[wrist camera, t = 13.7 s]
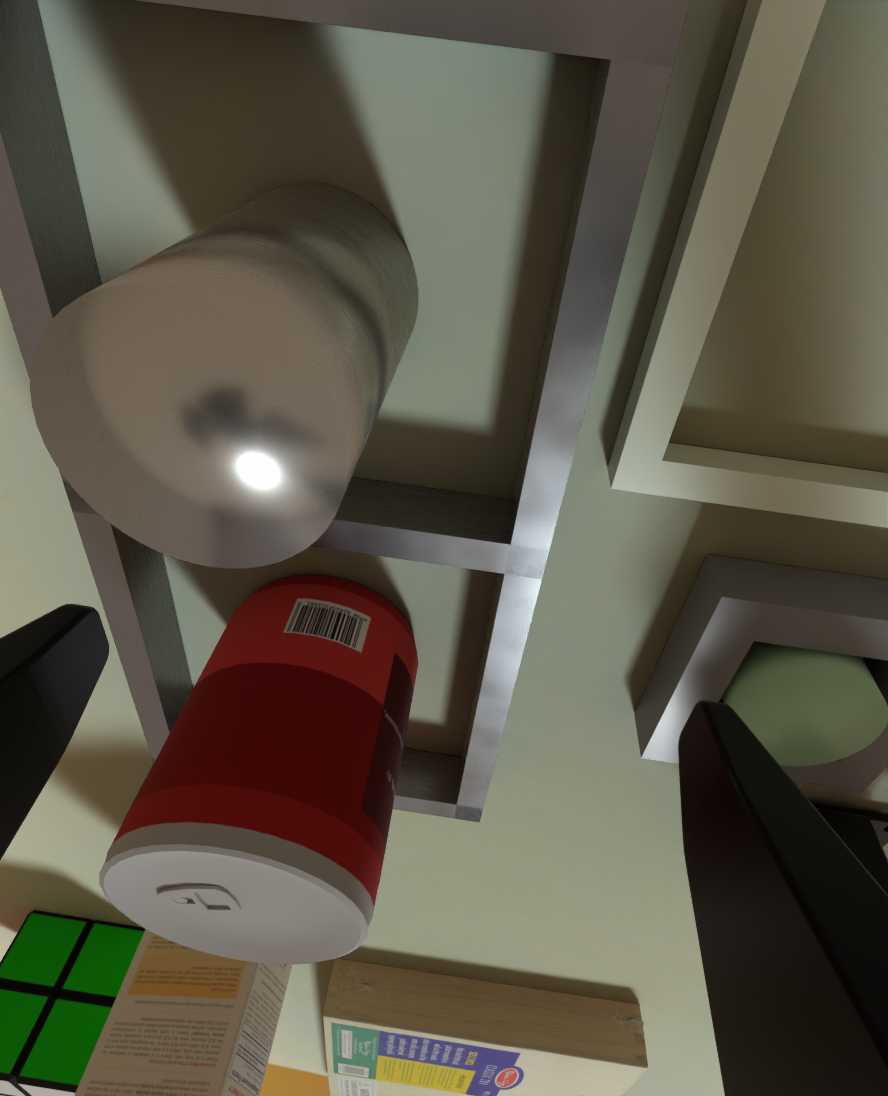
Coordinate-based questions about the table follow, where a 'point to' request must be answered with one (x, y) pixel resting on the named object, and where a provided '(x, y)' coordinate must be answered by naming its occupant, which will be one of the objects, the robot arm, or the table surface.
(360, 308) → the cylinder
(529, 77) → the table surface
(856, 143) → the table surface
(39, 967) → the puzzle cube
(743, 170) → the white square frame
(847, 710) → the button
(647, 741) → the button housing
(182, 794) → the canned food
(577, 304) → the grey divided tray
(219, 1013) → the supplement box
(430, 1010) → the puzzle box
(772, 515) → the table surface
